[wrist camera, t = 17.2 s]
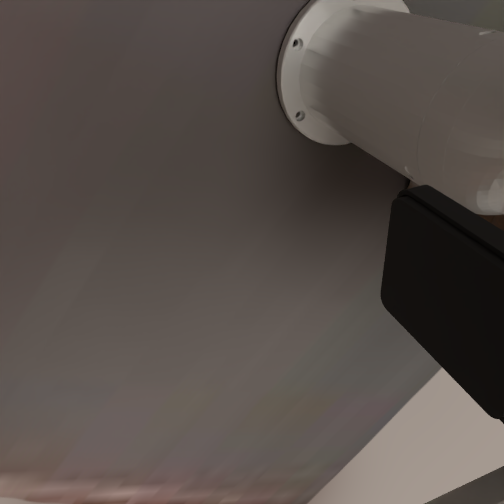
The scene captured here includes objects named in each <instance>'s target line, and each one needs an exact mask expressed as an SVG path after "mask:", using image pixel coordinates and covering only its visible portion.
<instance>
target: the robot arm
mask: <svg viewBox="0 0 504 504" xmlns="http://www.w3.org/2000/svg"><path fill="white" fill-rule="evenodd" d="M294 40H295V45H294V46H293V42H294ZM277 91H278V95H279V99H280V103H281V106H282V108H283V110H284V113H285V115H286V117H287V118H288V119H289V121H290V122H291V123H292V125H293V126H294V127H295V128H296V129H297V130H298V131H300V132H301V133H302V134H303V135H305V136H306V137H308V138H310V139H311V140H313V141H316V142H318V143H321V144H326V145H344V144H349V143H353V144H355V145H356V146H358V147H359V148H361V149H363V150H364V151H366V152H367V153H369V154H370V155H372V156H374V157H375V158H377V159H378V160H380V161H382V162H383V163H385V164H386V165H388V166H389V167H391V168H393V169H394V170H396V171H397V172H399V173H401V174H402V175H404V176H405V177H407V178H408V179H410V180H412V181H413V182H415V183H416V184H418V185H420V186H417V187H413V188H409V189H405V190H402V191H401V192H399V194H398V195H397V199H395V200H394V201H393V203H392V206H391V214H390V222H389V230H388V238H387V246H386V254H385V262H384V270H383V278H382V286H381V300H382V303H383V305H384V307H385V308H386V309H387V310H388V312H389V313H390V314H391V315H392V316H393V317H394V318H395V319H396V320H397V321H398V322H399V323H400V324H401V325H402V326H403V327H404V328H405V329H406V330H407V331H408V332H409V333H410V334H411V335H412V336H413V337H414V338H415V339H416V340H417V341H418V343H419V344H420V345H421V346H422V347H423V348H424V349H425V350H426V351H427V352H428V353H429V354H430V355H431V356H432V357H433V358H434V359H435V360H436V361H437V362H438V363H439V364H440V365H441V366H442V367H443V368H444V369H445V370H446V371H447V372H448V373H449V375H450V376H451V377H452V378H454V380H455V381H456V382H457V383H458V384H459V385H460V386H461V387H462V388H463V389H464V390H465V391H466V392H467V393H468V394H469V395H470V396H471V397H472V398H473V399H474V400H475V401H476V402H477V403H478V404H479V405H480V407H482V409H483V410H484V411H485V412H486V413H487V414H488V415H490V416H491V417H493V418H495V419H500V420H501V421H502V422H503V424H504V231H503V230H501V229H500V228H498V227H496V226H495V225H493V224H492V223H490V222H488V221H487V220H485V219H483V218H482V217H480V216H479V215H477V214H481V215H504V32H501V31H496V30H491V29H486V28H481V27H476V26H471V25H466V24H461V23H456V22H451V21H446V20H441V19H436V18H431V17H425V16H420V15H415V14H411V13H410V11H409V9H408V7H407V6H406V4H405V3H404V2H403V0H310V1H309V3H308V4H307V5H306V6H305V7H304V8H303V9H302V10H301V11H300V12H299V14H298V15H297V17H296V18H295V20H294V21H293V23H292V24H291V26H290V28H289V30H288V32H287V34H286V36H285V39H284V41H283V43H282V47H281V51H280V54H279V58H278V66H277ZM297 112H298V114H297ZM296 114H297V115H296ZM425 504H504V466H503V467H501V468H499V469H497V470H495V471H493V472H490V473H488V474H486V475H484V476H482V477H480V478H478V479H475V480H473V481H471V482H469V483H467V484H465V485H463V486H461V487H459V488H456V489H454V490H452V491H450V492H448V493H446V494H444V495H442V496H440V497H438V498H436V499H433V500H431V501H429V502H427V503H425Z"/></svg>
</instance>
